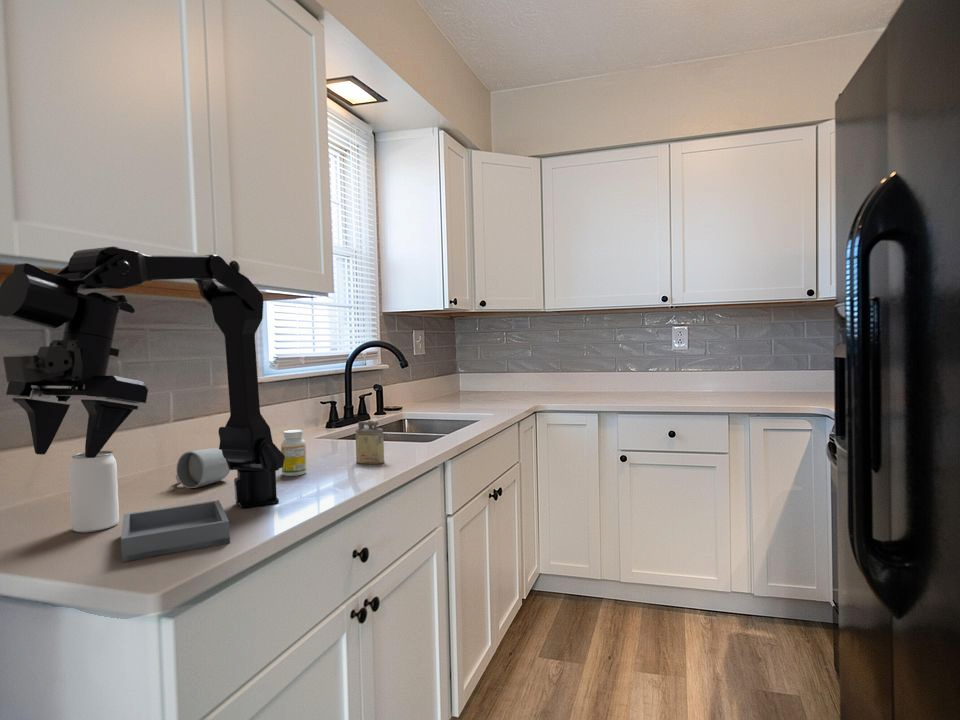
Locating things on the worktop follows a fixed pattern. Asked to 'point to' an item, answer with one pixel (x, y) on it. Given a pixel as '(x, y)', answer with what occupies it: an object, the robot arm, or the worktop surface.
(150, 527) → the tray
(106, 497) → the can
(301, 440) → the supplement bottle
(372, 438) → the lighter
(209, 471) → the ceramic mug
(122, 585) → the worktop surface
